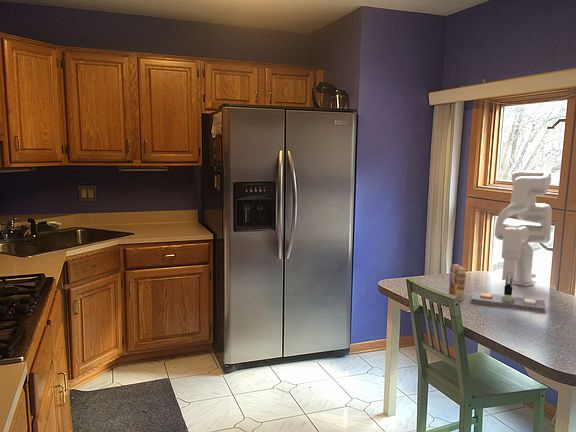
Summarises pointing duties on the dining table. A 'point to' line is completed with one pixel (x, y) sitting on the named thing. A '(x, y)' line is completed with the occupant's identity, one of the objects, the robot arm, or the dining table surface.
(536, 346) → the dining table surface
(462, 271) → the candy box
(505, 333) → the dining table surface
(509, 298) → the sage button
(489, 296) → the orange button
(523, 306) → the button panel
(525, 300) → the cream button
